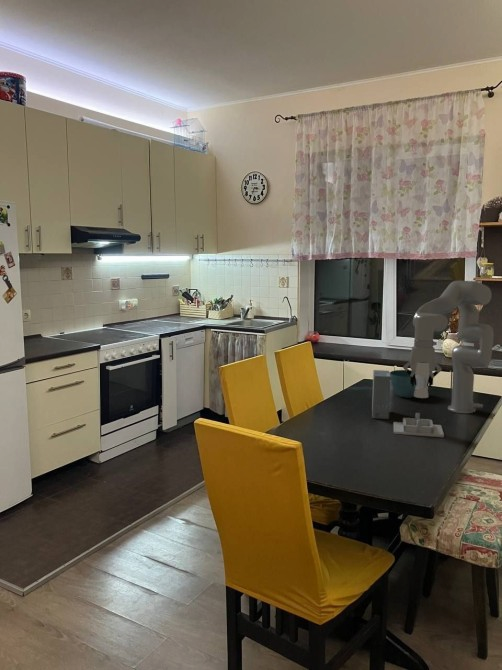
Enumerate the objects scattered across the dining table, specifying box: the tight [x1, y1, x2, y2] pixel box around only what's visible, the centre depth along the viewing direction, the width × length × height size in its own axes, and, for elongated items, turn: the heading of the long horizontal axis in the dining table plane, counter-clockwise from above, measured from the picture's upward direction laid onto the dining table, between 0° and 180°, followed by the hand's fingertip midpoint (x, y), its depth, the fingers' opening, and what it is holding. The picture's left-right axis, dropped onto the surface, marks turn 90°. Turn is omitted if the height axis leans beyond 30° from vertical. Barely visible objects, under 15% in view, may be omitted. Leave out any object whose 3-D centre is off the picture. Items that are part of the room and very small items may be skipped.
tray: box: [393, 412, 445, 438], centre depth 237 cm, size 20×14×6 cm
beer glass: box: [413, 362, 430, 399], centre depth 236 cm, size 7×7×15 cm
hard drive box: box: [371, 369, 391, 420], centre depth 260 cm, size 16×8×20 cm, turn 168°
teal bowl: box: [389, 369, 415, 399], centre depth 296 cm, size 18×18×12 cm
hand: (421, 385), depth 236 cm, fingers closed on beer glass, 6 cm apart
